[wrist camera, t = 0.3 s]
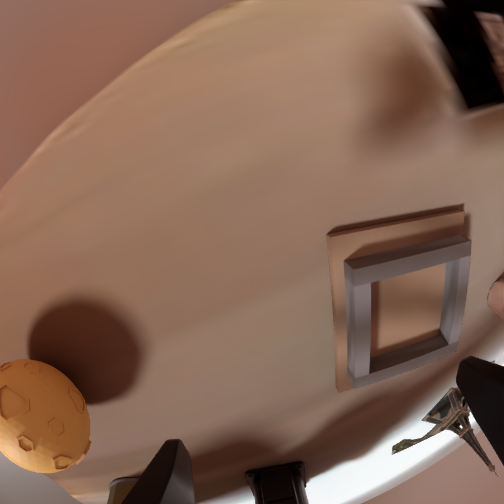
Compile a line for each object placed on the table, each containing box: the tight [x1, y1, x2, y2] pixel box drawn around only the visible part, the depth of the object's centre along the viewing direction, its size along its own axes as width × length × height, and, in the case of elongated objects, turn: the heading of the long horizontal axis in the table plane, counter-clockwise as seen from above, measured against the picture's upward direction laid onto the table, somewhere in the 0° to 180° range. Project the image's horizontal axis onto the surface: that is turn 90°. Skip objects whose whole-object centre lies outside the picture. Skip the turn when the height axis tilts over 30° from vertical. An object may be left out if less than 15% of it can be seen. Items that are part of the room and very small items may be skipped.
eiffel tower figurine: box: [392, 361, 498, 477], centre depth 23 cm, size 15×10×13 cm
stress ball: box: [0, 359, 91, 473], centre depth 18 cm, size 10×10×10 cm
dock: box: [326, 209, 471, 393], centre depth 22 cm, size 14×12×3 cm
